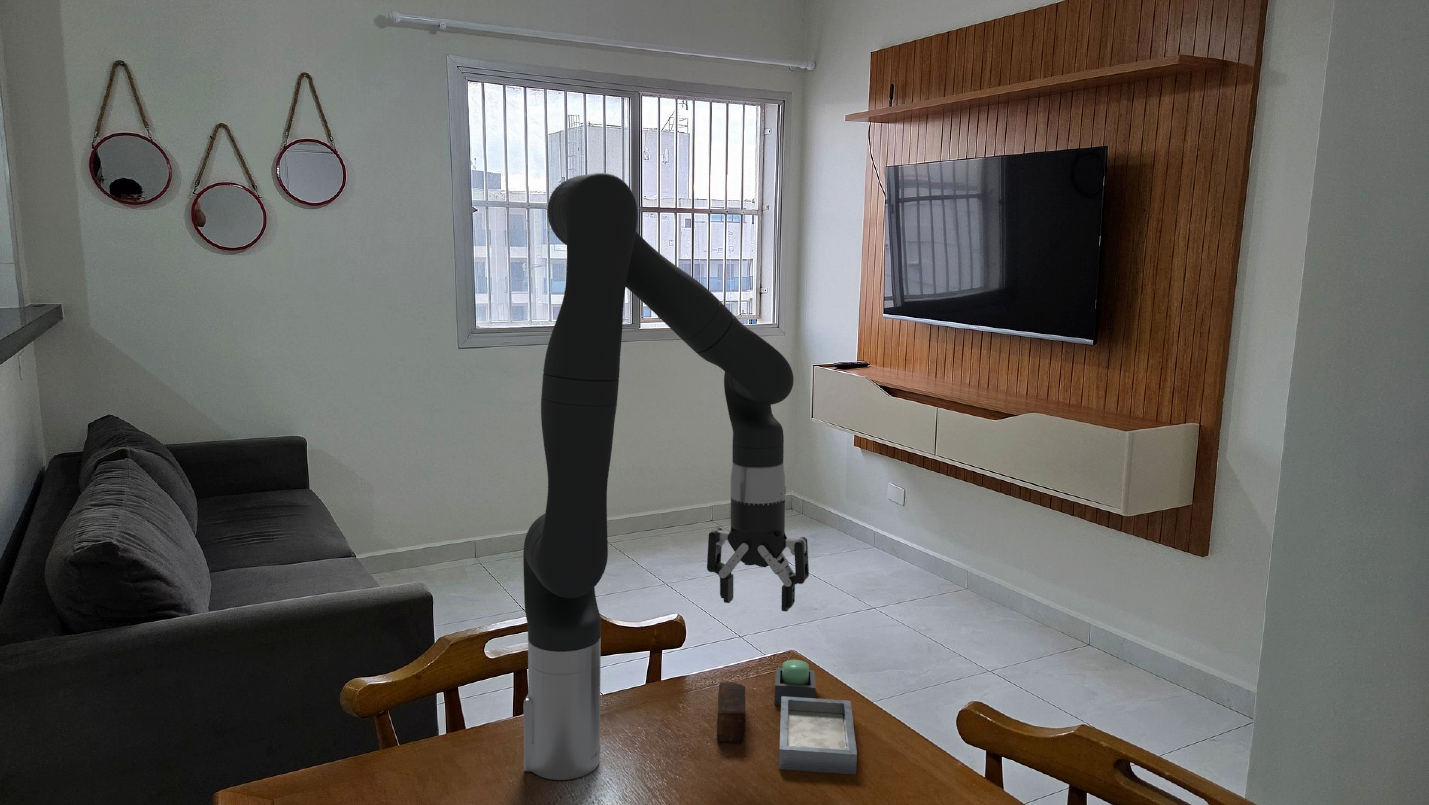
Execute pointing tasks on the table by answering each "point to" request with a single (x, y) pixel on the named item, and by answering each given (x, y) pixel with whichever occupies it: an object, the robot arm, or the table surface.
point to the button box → (793, 687)
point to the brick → (731, 713)
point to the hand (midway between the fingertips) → (757, 605)
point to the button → (795, 672)
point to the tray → (817, 735)
